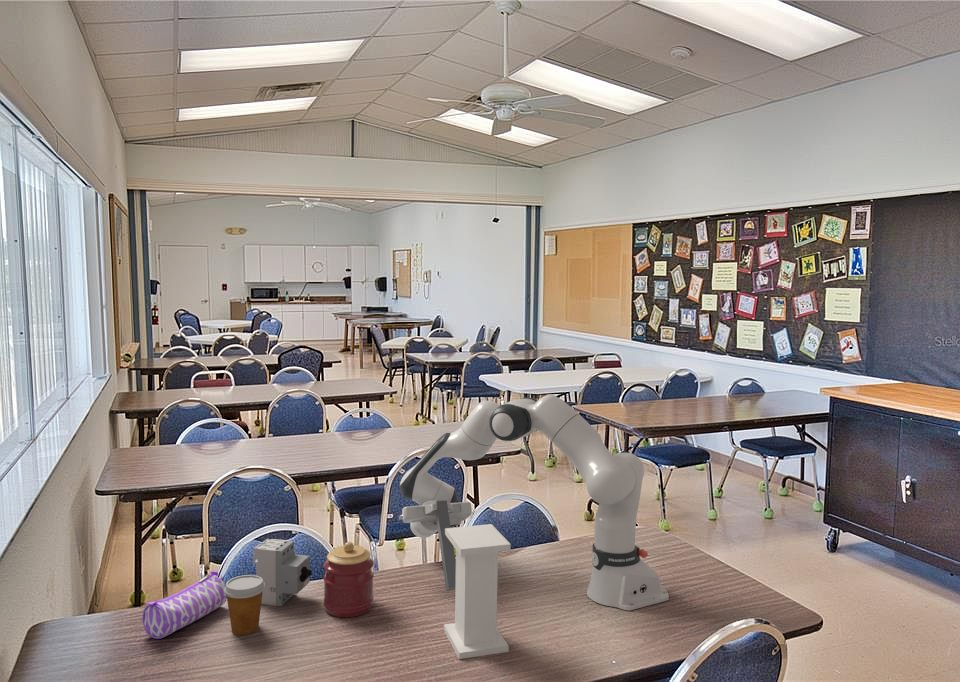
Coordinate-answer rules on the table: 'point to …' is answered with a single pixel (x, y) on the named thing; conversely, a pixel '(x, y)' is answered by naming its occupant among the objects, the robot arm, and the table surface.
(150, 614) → the pencil case
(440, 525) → the bar
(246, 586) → the disposable coffee cup
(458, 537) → the stand
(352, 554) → the canister
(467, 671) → the table surface
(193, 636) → the table surface
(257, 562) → the circuit breaker
